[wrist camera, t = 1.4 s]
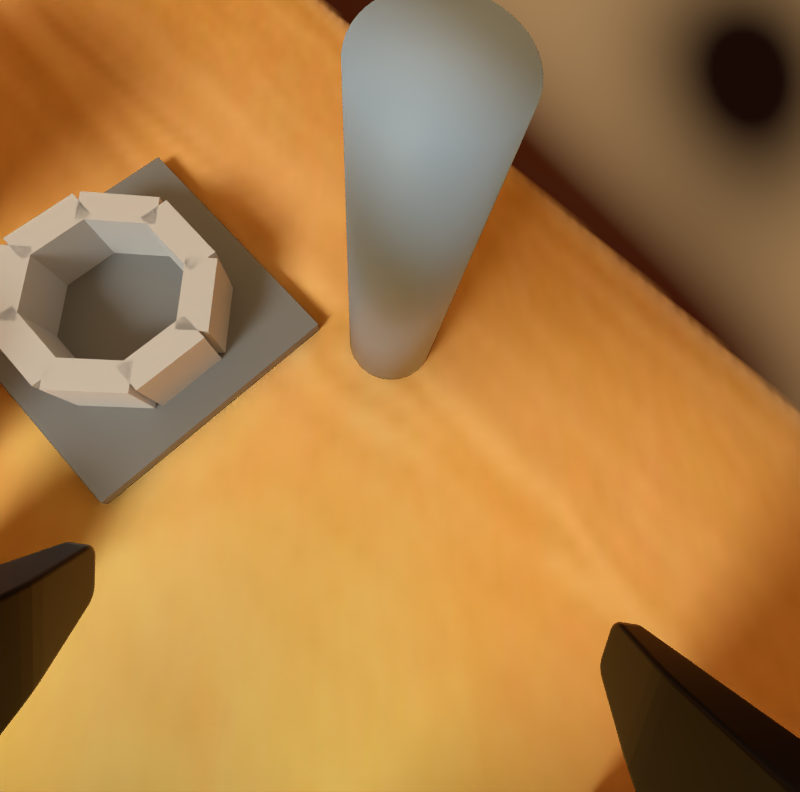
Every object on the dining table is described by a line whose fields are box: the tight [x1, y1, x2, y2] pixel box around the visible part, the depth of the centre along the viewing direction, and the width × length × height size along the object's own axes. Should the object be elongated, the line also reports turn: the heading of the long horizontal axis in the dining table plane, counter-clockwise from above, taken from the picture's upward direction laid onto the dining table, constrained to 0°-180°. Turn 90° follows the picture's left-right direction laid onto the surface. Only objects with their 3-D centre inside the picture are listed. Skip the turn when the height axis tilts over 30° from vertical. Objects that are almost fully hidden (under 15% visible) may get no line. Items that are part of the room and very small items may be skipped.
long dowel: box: [341, 0, 543, 379], centre depth 16 cm, size 4×4×14 cm
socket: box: [0, 157, 319, 504], centre depth 20 cm, size 11×11×3 cm
